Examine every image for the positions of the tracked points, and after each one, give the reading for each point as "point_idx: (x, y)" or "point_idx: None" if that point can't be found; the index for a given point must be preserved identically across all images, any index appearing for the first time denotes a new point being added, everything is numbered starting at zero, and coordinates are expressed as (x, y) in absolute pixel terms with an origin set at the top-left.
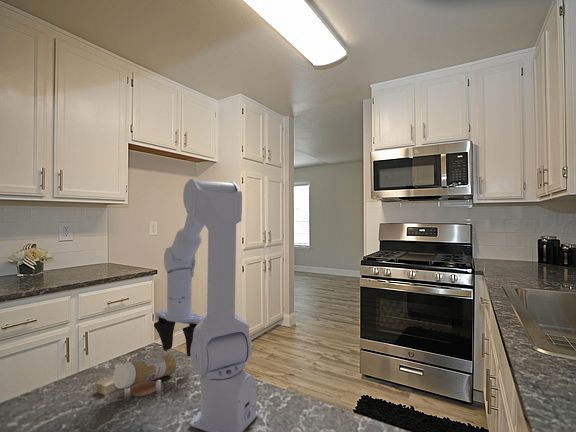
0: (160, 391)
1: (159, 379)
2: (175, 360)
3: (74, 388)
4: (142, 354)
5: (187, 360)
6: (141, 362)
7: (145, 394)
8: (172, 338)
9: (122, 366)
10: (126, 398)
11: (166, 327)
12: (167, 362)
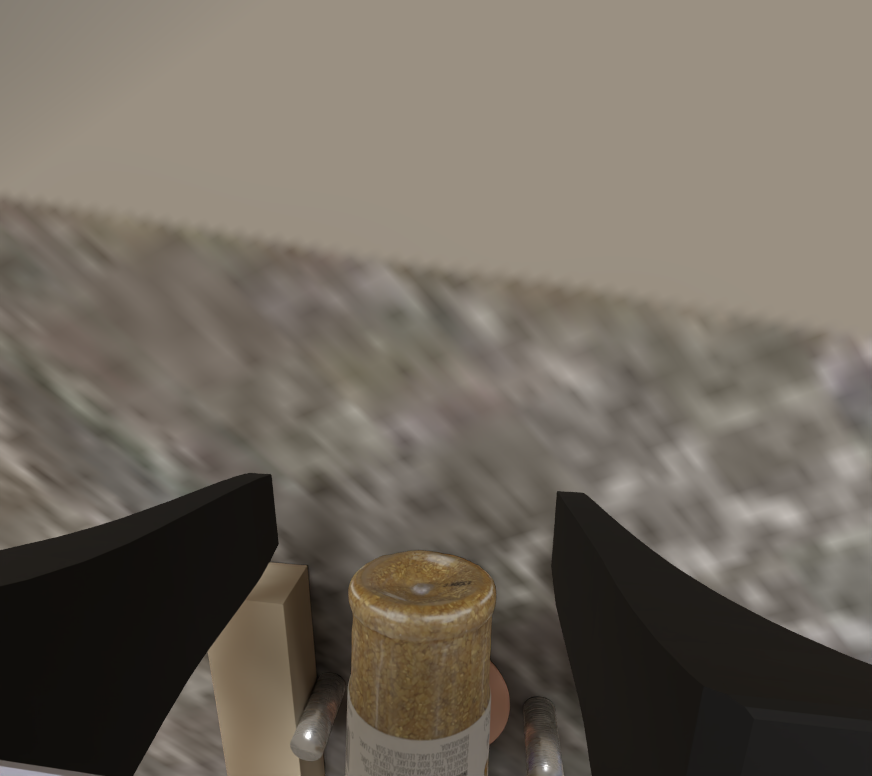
0: (556, 720)
1: (540, 769)
2: (480, 614)
3: (138, 767)
4: (20, 382)
5: (389, 324)
6: None
7: (490, 740)
8: (209, 506)
9: None
10: None
11: (78, 752)
12: (475, 699)
